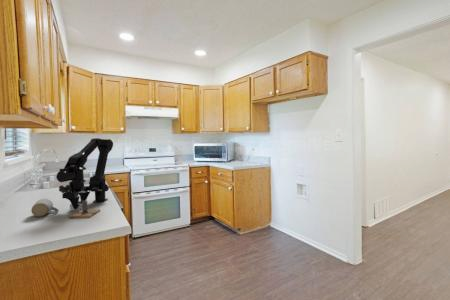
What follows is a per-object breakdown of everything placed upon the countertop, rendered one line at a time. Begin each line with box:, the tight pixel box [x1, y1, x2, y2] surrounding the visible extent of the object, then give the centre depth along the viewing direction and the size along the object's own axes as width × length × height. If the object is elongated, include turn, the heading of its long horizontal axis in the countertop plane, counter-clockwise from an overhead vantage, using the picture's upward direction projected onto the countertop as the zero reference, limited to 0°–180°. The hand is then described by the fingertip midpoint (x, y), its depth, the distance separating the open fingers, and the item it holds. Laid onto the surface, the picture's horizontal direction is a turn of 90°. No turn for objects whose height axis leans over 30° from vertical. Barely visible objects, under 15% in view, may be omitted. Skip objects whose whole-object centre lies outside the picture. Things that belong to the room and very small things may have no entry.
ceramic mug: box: [30, 198, 60, 218], centre depth 120 cm, size 11×8×8 cm
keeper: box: [68, 199, 101, 219], centre depth 118 cm, size 10×10×7 cm
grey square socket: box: [69, 200, 89, 212], centre depth 129 cm, size 6×6×4 cm
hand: (79, 207), depth 129 cm, fingers open, 7 cm apart
